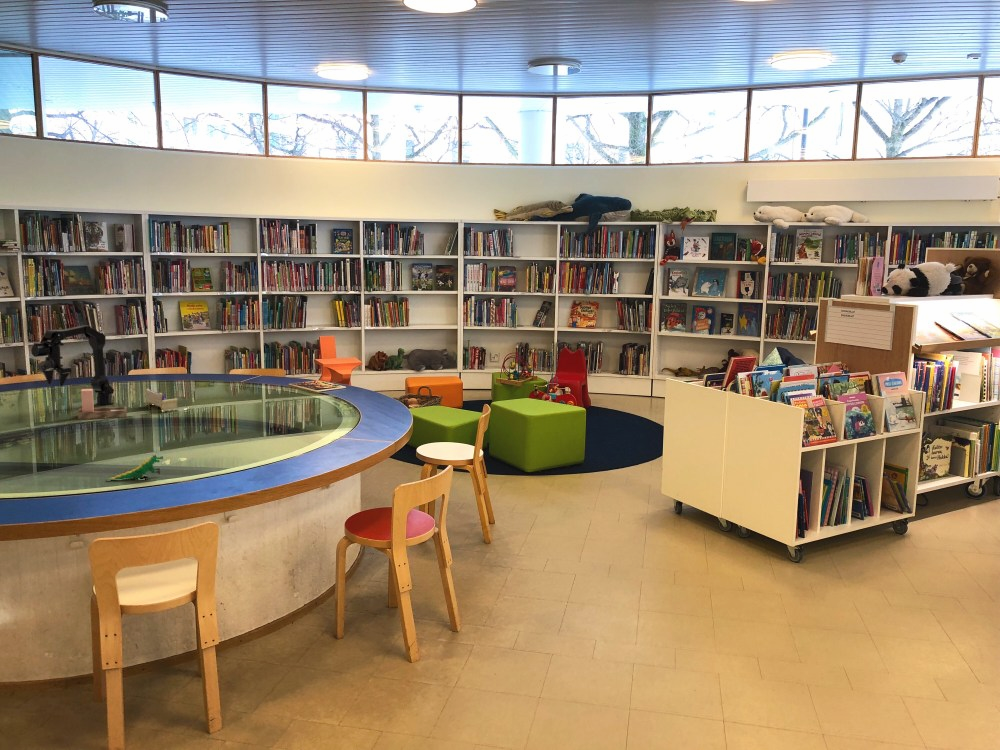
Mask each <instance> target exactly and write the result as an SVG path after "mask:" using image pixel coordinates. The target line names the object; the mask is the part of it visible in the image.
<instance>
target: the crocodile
mask: <svg viewBox="0 0 1000 750" xmlns="http://www.w3.org/2000/svg"><path fill="white" fill-rule="evenodd" d="M161 461H164V456H163V455H162V456H161V455H160V456H159V455H158V456H157V455H156V454H153V455H152V456H151V457H149V458H147V460H143V462H142V463H140V465H139V466H138V467H135V469H134V468H133V469H131V471H126V472H124V473H120V474H119V475H115V477H113V476H112V477H110V478H109V479H123V480H125V479H124V478H126V479H127V478H128V479H129V478H130V479H134V480H135V479H136V478H137V479H138V478H143V477H142V476H143V475H147V473H148V472H149V473H151V474H158V475H161V469H160V468H161V467H158V468H157V467H155V466H154V465H155V463H160V462H161ZM132 477H133V478H132ZM134 477H135V478H134Z"/></svg>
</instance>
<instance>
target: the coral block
mask: <svg viewBox="0 0 1000 750" xmlns="http://www.w3.org/2000/svg"><path fill="white" fill-rule="evenodd" d="M80 392H81V393H80V394H81V395H80V397H81V409H82V412H94V408H95V407H94V389H93V388H81V389H80Z"/></svg>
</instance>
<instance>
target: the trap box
mask: <svg viewBox="0 0 1000 750" xmlns="http://www.w3.org/2000/svg"><path fill="white" fill-rule="evenodd" d="M127 409H128V407H127V406H111V407H110V406H109V407H106V406H105V407H94V412H82V408H78V412H77V420H88V419H89V420H91V419H90V418H98V419H108V418H107V417H119V418H127V415H128V414H127V413H128V410H127ZM125 416H126V417H125ZM105 417H106V418H105Z"/></svg>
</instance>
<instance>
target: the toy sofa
mask: <svg viewBox="0 0 1000 750" xmlns="http://www.w3.org/2000/svg"><path fill="white" fill-rule="evenodd" d="M145 393H146V394H145V406H146V405H152V404H154V405H155V406H157V407H159V408H160V409H161V411H162V410H166V409H172V408H177V409H178V398H170V399H167V398H165V394H164V393H162V392H157V391H154V390H152V389H150V388H145Z"/></svg>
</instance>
